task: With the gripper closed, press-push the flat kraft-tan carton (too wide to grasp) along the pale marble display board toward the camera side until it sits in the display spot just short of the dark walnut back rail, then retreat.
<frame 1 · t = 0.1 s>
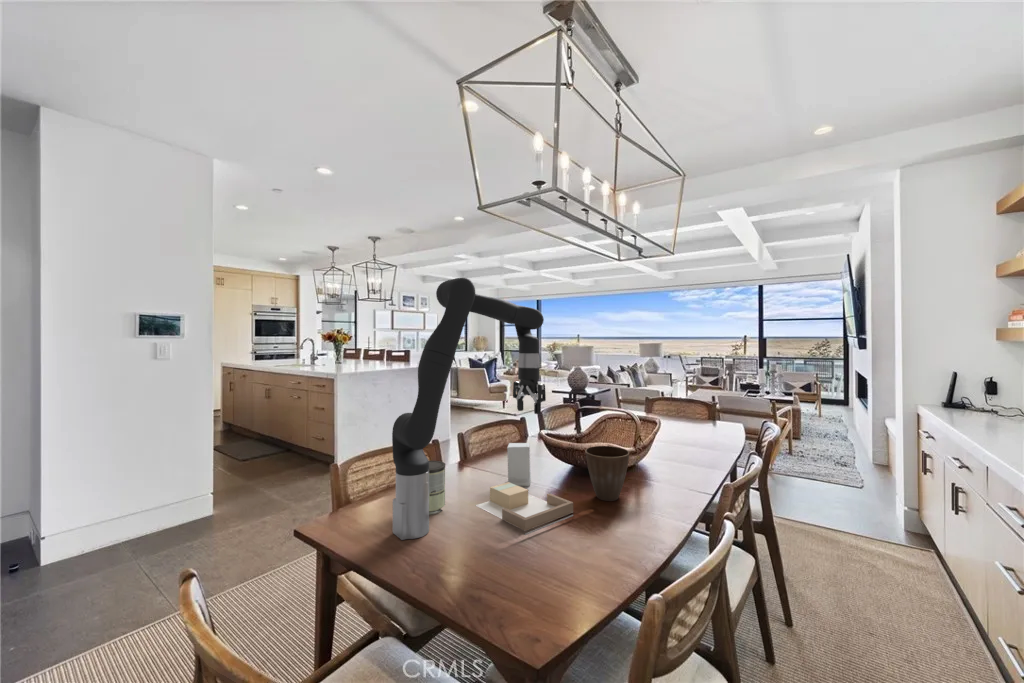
hand: (528, 412, 147), 29 cm above the table, fingers open, 8 cm apart
coffee can: (429, 509, 134), on the table
plant pot: (607, 497, 144), on the table
board: (523, 512, 131), on the table
skincare box: (519, 486, 155), on the table
carton: (508, 502, 136), point 1 cm above the table, touching board
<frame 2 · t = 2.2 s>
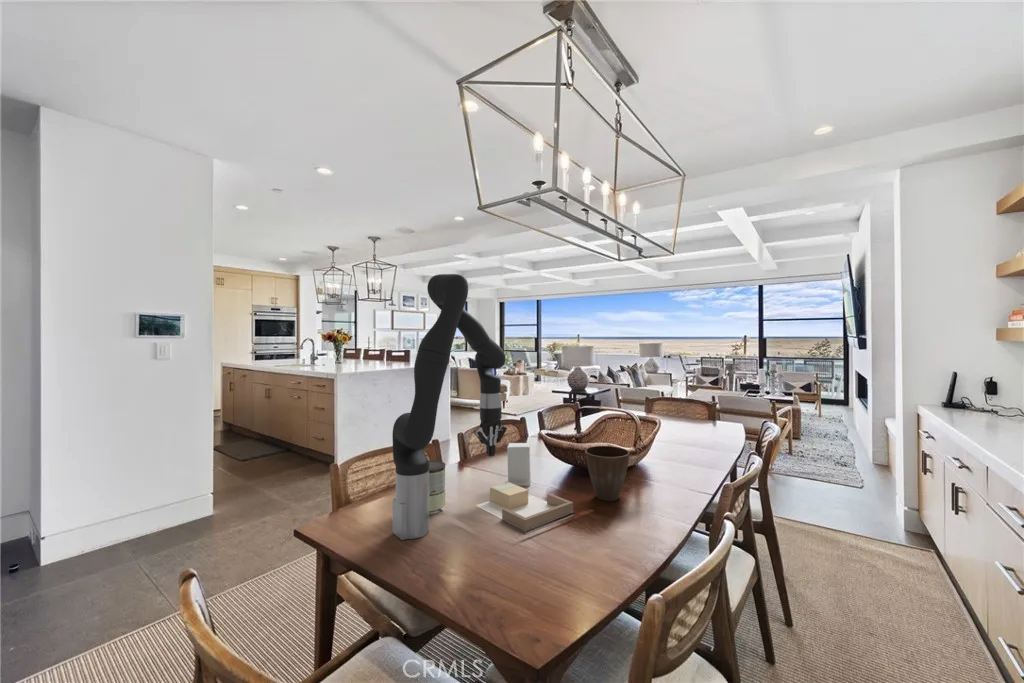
hand: (491, 455, 144), 14 cm above the table, fingers closed
nothing on the table moved.
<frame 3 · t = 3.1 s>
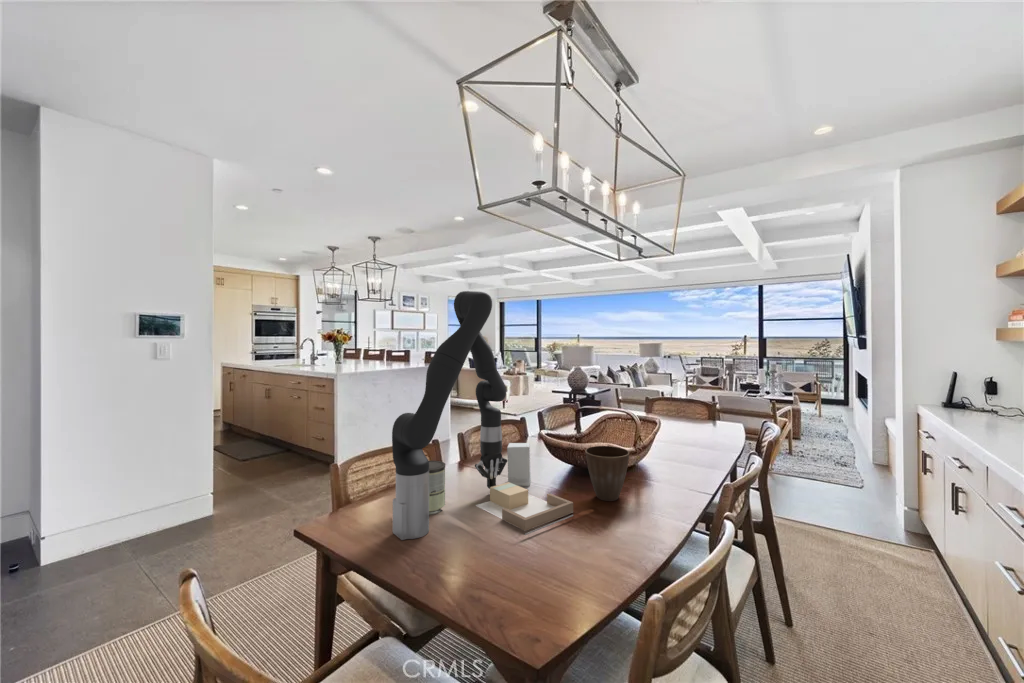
hand: (491, 488, 144), 3 cm above the table, fingers closed
nothing on the table moved.
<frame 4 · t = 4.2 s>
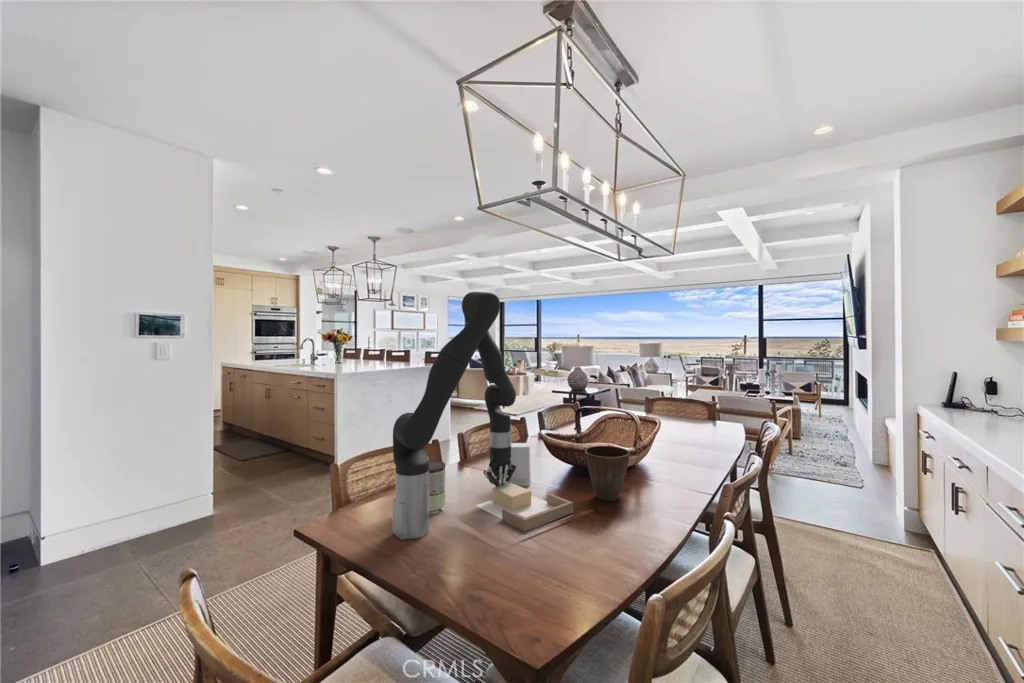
hand: (500, 495, 140), 2 cm above the table, fingers closed
carton: (511, 503, 135), point 1 cm above the table, touching gripper
everything else where it was.
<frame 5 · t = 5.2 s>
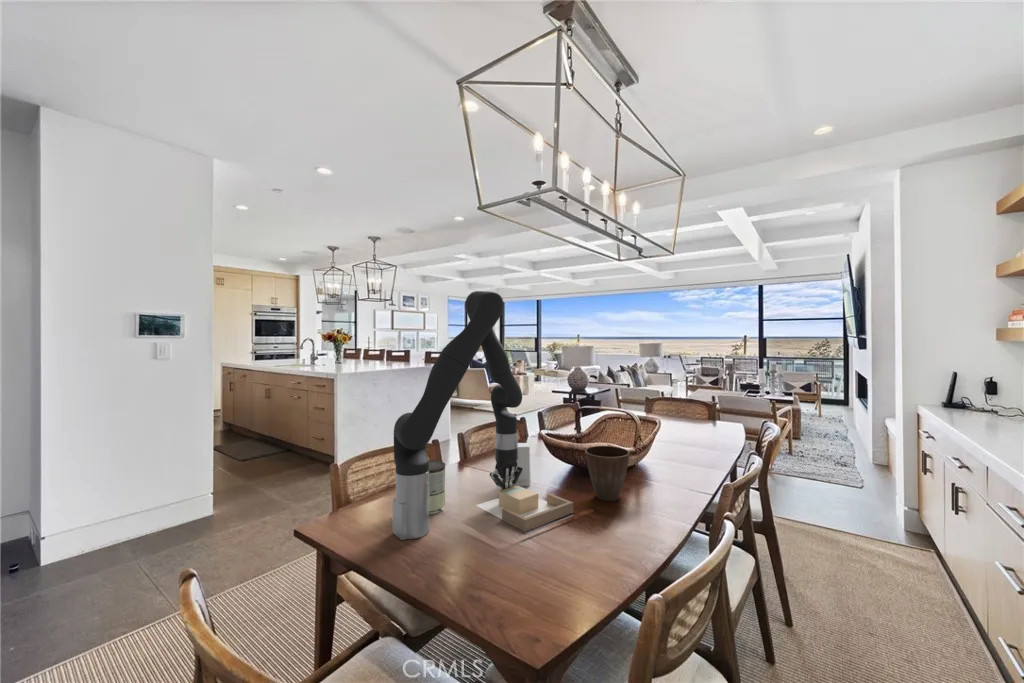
hand: (506, 498, 138), 2 cm above the table, fingers closed
carton: (518, 506, 133), point 1 cm above the table, touching gripper
everything else where it was.
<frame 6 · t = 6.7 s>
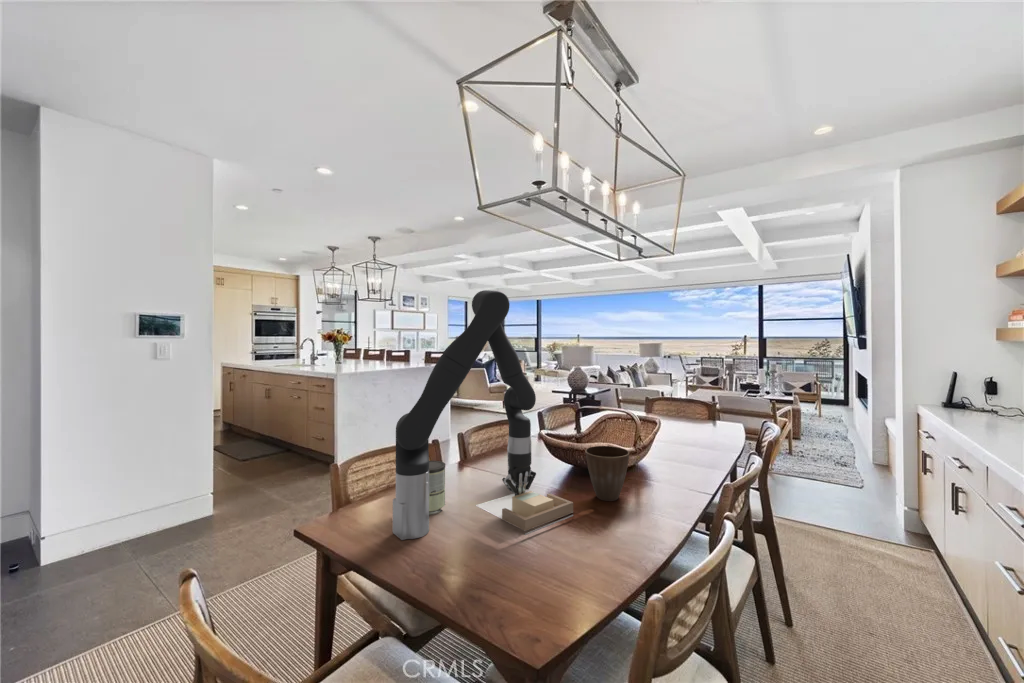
hand: (519, 504, 132), 2 cm above the table, fingers closed
carton: (532, 512, 128), point 1 cm above the table, touching board, gripper
everything else where it was.
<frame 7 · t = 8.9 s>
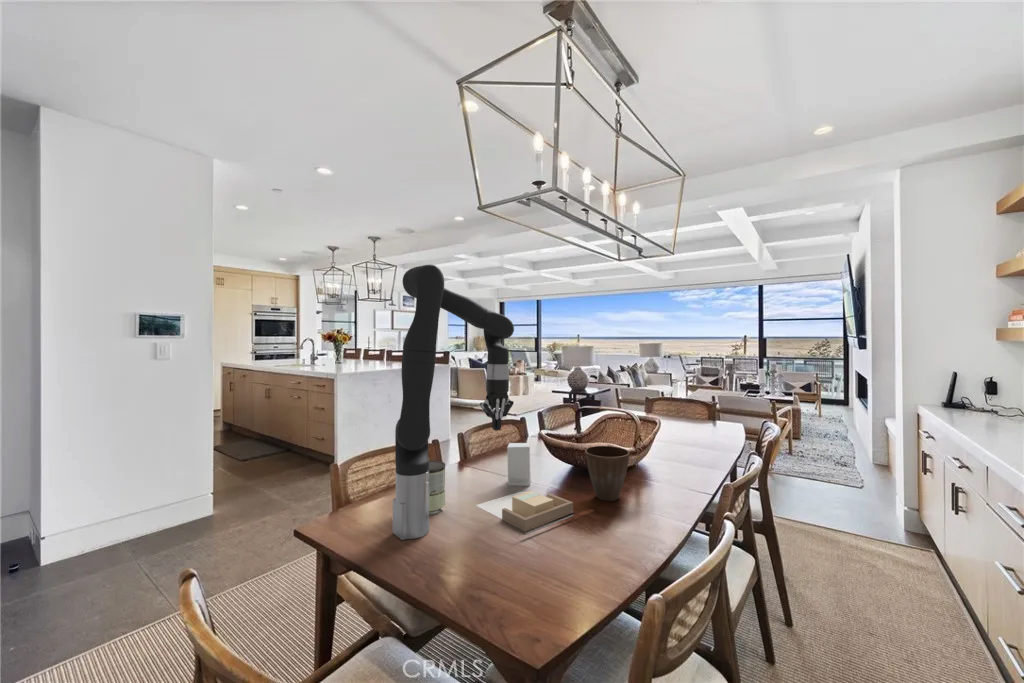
hand: (496, 429, 138), 25 cm above the table, fingers closed
carton: (532, 512, 128), point 1 cm above the table, touching board
everything else where it was.
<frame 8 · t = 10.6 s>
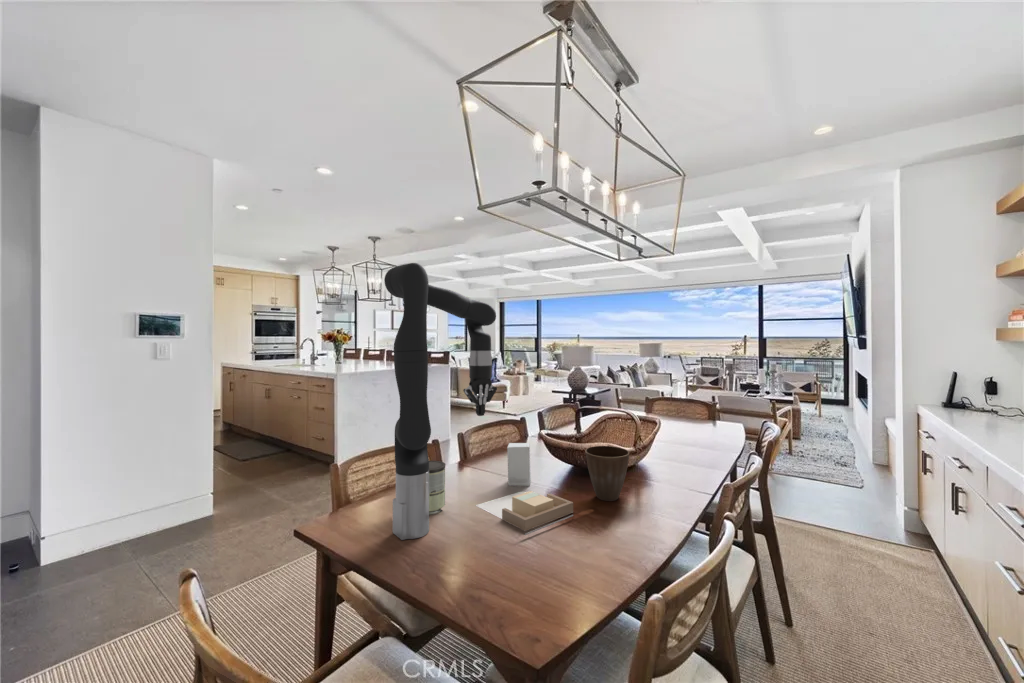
hand: (480, 415, 140), 29 cm above the table, fingers closed
nothing on the table moved.
at the end: carton inside the target area on the board (2.0 cm from its centre), point 1.2 cm above the board's base; carton tilted 0°; carton moved 11.3 cm from its start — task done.
